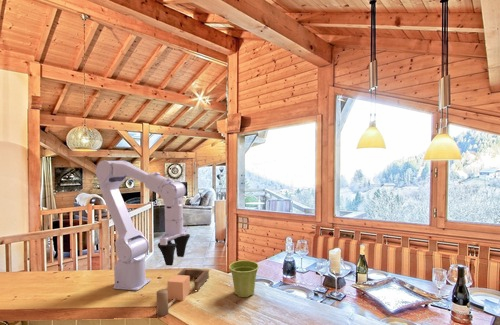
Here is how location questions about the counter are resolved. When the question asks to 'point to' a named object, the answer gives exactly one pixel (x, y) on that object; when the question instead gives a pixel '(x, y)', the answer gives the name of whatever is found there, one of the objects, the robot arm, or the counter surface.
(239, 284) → the plant pot
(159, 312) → the tethered block
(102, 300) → the counter surface
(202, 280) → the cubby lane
